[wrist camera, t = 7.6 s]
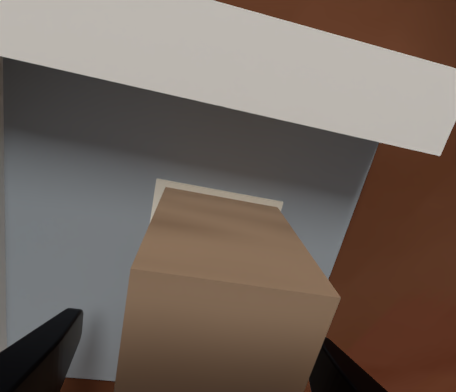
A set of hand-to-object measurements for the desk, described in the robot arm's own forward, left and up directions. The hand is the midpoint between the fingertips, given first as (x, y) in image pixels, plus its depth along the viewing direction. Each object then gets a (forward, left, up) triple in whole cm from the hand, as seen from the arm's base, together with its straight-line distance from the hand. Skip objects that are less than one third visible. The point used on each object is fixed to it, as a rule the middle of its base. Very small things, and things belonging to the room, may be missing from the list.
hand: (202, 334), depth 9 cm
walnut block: (0, 0, -3) cm, 3 cm away
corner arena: (+2, -2, -3) cm, 4 cm away
